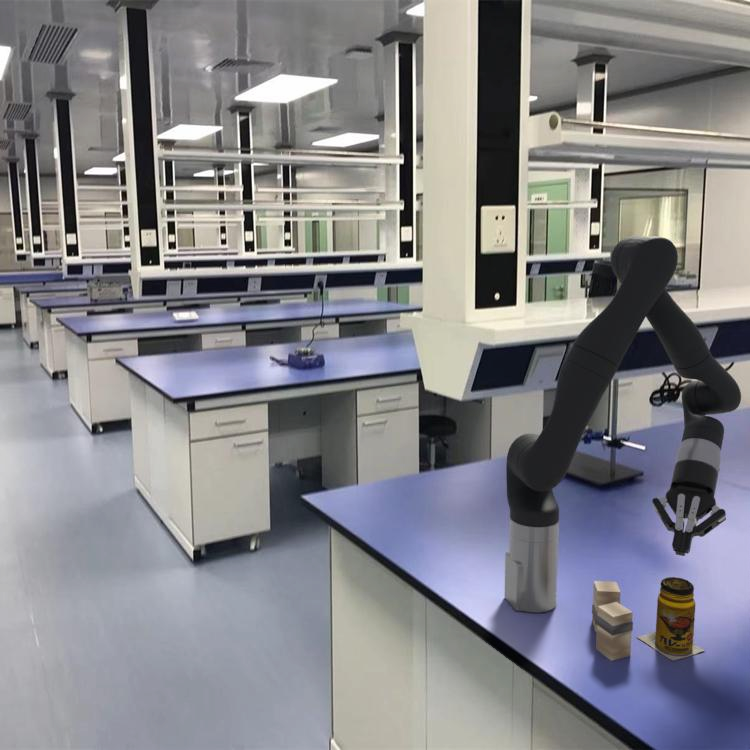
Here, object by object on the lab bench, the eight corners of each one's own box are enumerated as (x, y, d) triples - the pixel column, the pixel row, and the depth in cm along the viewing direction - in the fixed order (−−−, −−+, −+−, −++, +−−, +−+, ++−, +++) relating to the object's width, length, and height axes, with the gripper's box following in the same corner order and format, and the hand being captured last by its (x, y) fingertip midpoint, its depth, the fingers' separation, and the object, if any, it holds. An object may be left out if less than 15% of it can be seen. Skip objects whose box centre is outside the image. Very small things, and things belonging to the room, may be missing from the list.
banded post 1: (595, 632, 134) (596, 591, 132) (591, 620, 138) (593, 580, 136) (619, 633, 133) (621, 592, 132) (614, 622, 137) (616, 581, 136)
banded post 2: (611, 661, 124) (613, 617, 123) (595, 649, 128) (596, 606, 127) (631, 656, 126) (633, 612, 125) (614, 643, 130) (616, 601, 128)
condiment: (673, 662, 124) (677, 595, 122) (636, 637, 132) (640, 574, 130) (705, 651, 127) (709, 586, 125) (667, 628, 135) (671, 567, 132)
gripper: (657, 453, 139) (638, 537, 131) (734, 463, 132) (719, 552, 124) (661, 473, 144) (643, 554, 136) (736, 483, 137) (722, 570, 129)
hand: (679, 553), depth 130 cm, fingers closed
